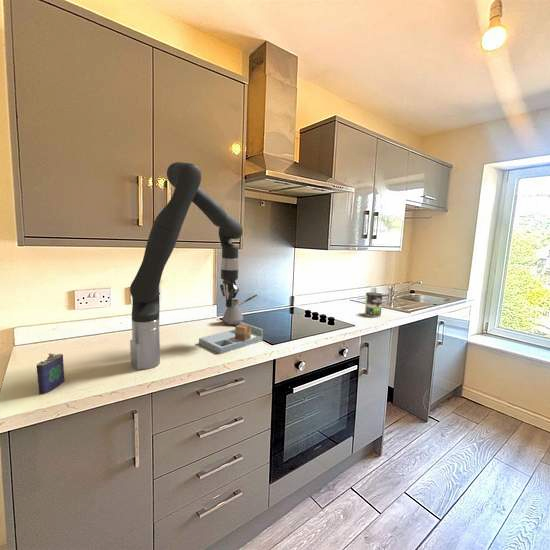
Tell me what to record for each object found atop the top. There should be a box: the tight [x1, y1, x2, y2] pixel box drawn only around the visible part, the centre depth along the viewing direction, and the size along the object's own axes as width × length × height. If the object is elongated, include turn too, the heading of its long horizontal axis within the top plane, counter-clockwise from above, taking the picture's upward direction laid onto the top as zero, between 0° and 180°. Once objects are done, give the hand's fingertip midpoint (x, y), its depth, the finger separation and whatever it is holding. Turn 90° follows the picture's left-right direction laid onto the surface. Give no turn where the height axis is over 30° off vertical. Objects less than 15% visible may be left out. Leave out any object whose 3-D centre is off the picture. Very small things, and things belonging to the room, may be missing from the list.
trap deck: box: [198, 321, 264, 355], centre depth 137 cm, size 24×16×6 cm, turn 136°
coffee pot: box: [222, 294, 259, 326], centre depth 169 cm, size 21×12×15 cm, turn 124°
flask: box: [36, 353, 66, 395], centre depth 93 cm, size 9×3×11 cm, turn 178°
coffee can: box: [364, 291, 384, 318], centre depth 195 cm, size 10×10×14 cm
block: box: [234, 322, 251, 341], centre depth 135 cm, size 5×5×6 cm
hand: (228, 306), depth 135 cm, fingers closed
